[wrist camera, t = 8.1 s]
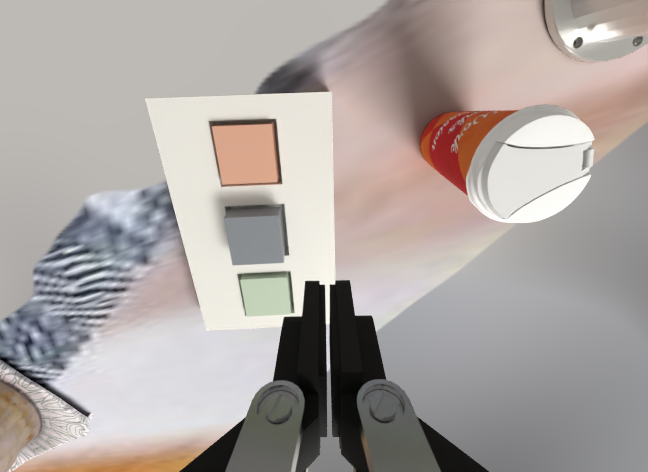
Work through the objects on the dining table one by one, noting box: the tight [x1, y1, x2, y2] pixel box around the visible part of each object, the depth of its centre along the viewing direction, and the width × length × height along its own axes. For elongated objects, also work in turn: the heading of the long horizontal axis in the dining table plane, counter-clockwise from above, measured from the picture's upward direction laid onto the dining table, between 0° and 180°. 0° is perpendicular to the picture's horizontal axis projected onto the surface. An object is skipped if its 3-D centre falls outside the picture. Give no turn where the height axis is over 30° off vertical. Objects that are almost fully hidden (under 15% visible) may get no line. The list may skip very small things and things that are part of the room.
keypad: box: [145, 92, 335, 331], centre depth 33 cm, size 16×26×3 cm, turn 2°
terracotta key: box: [212, 122, 280, 185], centre depth 28 cm, size 5×5×2 cm
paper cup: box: [420, 105, 595, 223], centre depth 25 cm, size 8×8×14 cm
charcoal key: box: [223, 207, 285, 265], centre depth 30 cm, size 5×5×2 cm
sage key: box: [240, 271, 292, 317], centre depth 35 cm, size 5×5×2 cm
